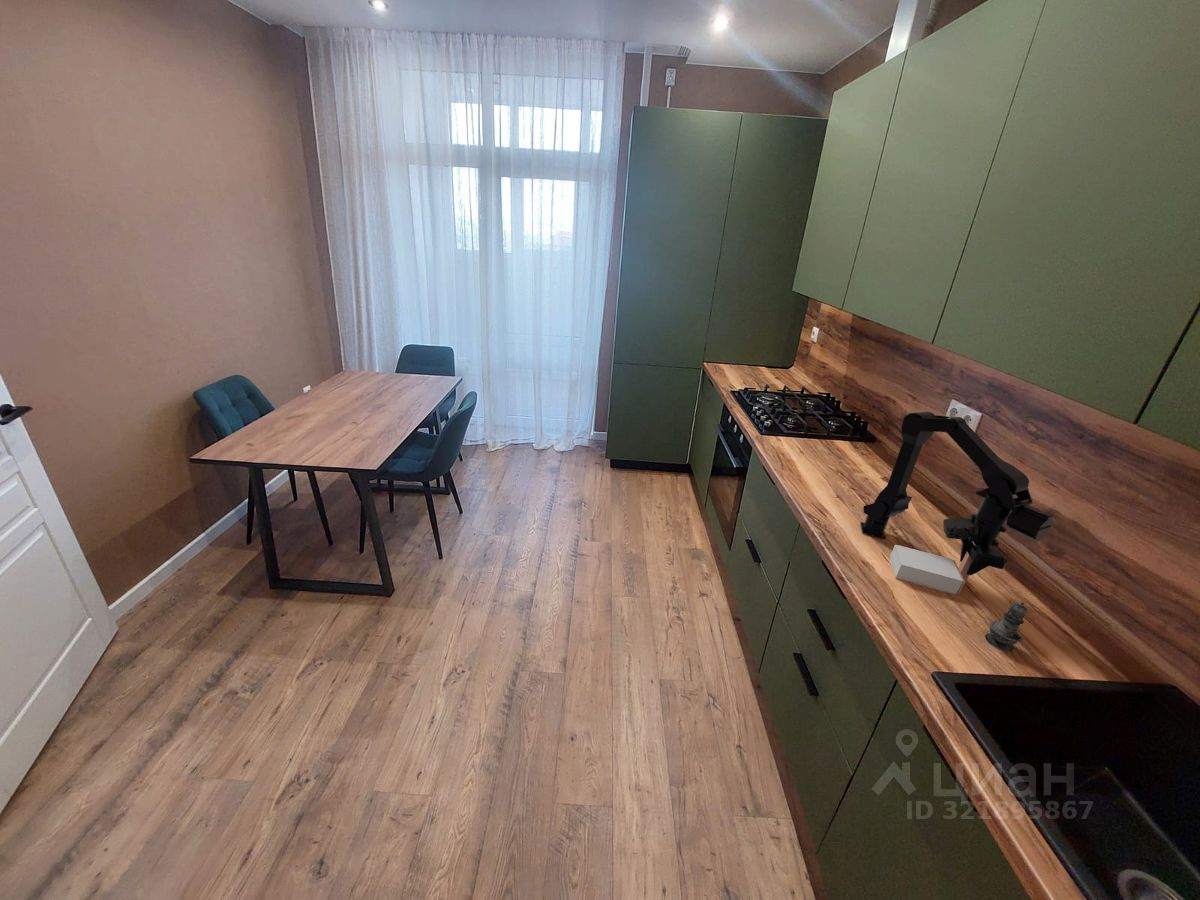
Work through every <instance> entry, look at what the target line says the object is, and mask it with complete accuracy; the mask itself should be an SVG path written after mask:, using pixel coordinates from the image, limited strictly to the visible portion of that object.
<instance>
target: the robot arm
mask: <svg viewBox="0 0 1200 900" xmlns="http://www.w3.org/2000/svg"><path fill="white" fill-rule="evenodd" d="M934 432H935V433H939V432H940V433H946V434H947V435H948V436H949V437H950V438H951V440H952V441H953V442H954V443H956V444H957V446H958V447H959V448H960V449H961V450H962V451H963V452H964V454H966V455H967V458H969V459H970V460H971V462H973V464H974V465H976V467H977V468H978V469H979V471H980V473H981V477H982V481H983V482H984V483H985V485H986V486H987V487H986V488H984V489H981V490H977V491H975V494H976V496H979V497H982V498H984V499H983V500H982V502H981V504H980V507H979V509H978V511H977V512H976V513H972V514H970V516H969V518H966V517H958V518H943V520H942V523H943V525H942V526H943V532H944V534H945V537H946V538H948V539H950V540H952V539H953V540H954V539H955V540H961V548H960V558H959V562H960V563H961V562H962V560H963V558H964V556H965V554H966V552H968V554H969V556H970V557H971V558H970V561H969V565H968V568H967V572H966V574H967V575H969V576H973V575H975V574H977V573H978V572H980V571H982V570H984V569H986V568H988V567H992V568H996V569H1000V570H1004V569H1005V567H1006V566H1007V564H1008V561H1007V560H1006V558H1005V556H1004V555H1003V554H1002V552H1001V551H1000V549H999V550H998V549H994V548H992V547H991V546H993V547H998V546H999V544H1000V543H999V541H998V540H997V539H998V538H999V535H1000V533H1004V534H1005V533H1006V531H1007V529H1006V527H1005V524H1006V526H1008V528H1009V529H1011V530H1013V531H1015V532H1017V533H1018V534H1021V535H1023V536H1025V537H1027V538H1029V539H1032V540H1033V541H1035V542H1040V541H1041V540H1043V539H1044V538H1045V537H1046V536H1047V535H1048V534H1049V532H1050V531H1051V530H1052V528H1053V526H1052V524H1053V517H1054V514H1052V513H1050V512H1047V511H1043V510H1040V509H1038V508H1037V507H1034V506H1031V505H1033V499H1032V497H1031V494H1030V490H1029V485H1030V478H1029V477H1028V476H1027V475H1026V474H1025V473H1024V472H1023V471H1021V470H1020V469H1018V468H1017V467H1016V466H1015V465H1012V464H1011V463H1009V462H1006V461H1004V460H1003V459H1001V457H999V456H998V455H997V453H995V452H994V451H993V450H992V448H990V446H988V445H987V443H986V442H984V440H983V439H982V438H981V437H980V436H979V435H978V434H977V433H976V432H975V431H974V429H972V428H971V427H970V426H969V425H968V423H967V421H966V419H964V418H963V417H961V416H948V415H935V413H933V412H932V411H929V410H928V411H918V412H910V413H907V414H906V415H905V416H904V417H903V419H902V422H901V428H900V434H901V438H902V443H901V445H900V448H899V451H898V454H897V457H896V459H895V462H894V465H893V468H892V471H891V474H890V475H889V479H888V482H887V484H886V486H884V488H883V489H882V490H881V491H880V492H879V493H878V495H877V496H876V498H875V500H874V502H873V503H870V504H866V505H865V504H864V505H863V510H862V511H863V514H865V515H866V518H865V521H864V522H862V521H861V522H860V528H861V532H862V534H865V535H868V536H872V537H876V538H880V539H883V540H886V538H887V537H886V533H885V530H886V527H887V525H888V523H889V520H890V518H891V517H896V516H897V515H899V514H902V513H904V512H905V511H906V510H909V505H910V502H912V501H911V500H912V498H913V497H912V496H911V495H910V496H909V495H908V492H907V487H908V485H909V483H910V480H911V477H912V474H913V473H914V469H915V466H916V464H917V461H918V457H919V456H920V453H921V450H922V448H923V445H924V444H925V443H926V442H927V441H928V440H929V439H930V438H931V437H932V435H933V434H934ZM1014 496H1016V498H1015V497H1014Z"/></svg>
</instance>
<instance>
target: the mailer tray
mask: <svg viewBox="0 0 1200 900" xmlns="http://www.w3.org/2000/svg"><path fill="white" fill-rule="evenodd" d="M970 558H971V557H970V556H969V554H968V552H966V554H965V556H964V558H963V560H962V562H960V564H959V566H958V565H957V563H956V561H955V560H954V559H952V560H953V562H954V564H955V566H956V568H957V570H958V572H959V574H960V576H961V578H962V580H963V582H962V584H961V586H960V588H959V590H958V591H957V593H956V595H960V594H961V592H962V590H963V588H964V586H965V585H966V583H967V580H968V578H969V577H970V575H967V574H966V572H967V568H968V565H969V561H970Z"/></svg>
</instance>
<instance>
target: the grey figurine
mask: <svg viewBox="0 0 1200 900" xmlns="http://www.w3.org/2000/svg"><path fill="white" fill-rule="evenodd" d="M1027 614H1028V609H1027V607H1026V606H1025V603H1024V601H1020V602H1014V603H1012V604H1010V606H1009V608H1008V610H1007V611H1005V612H1003V617H1002V619H1001V621H996V620H995V621H991V622H990V623H989V626H990V627H989V632H990V633H986V634H984V635H985V636H984V638H985V640H986V641H987V643H988V644H989V645H990V646H991V647H993V648H995V649H997V650H999V651H1002V652H1006V653H1011V652H1013V651H1014V645H1015V644H1017V643H1019V642H1021V641H1022V640H1023V635H1022V634H1021V633H1020V632H1019V631H1018V629H1019V628H1020V626H1021V625H1024V623H1025V621H1024V618H1025V616H1026V615H1027Z"/></svg>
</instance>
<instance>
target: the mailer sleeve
mask: <svg viewBox="0 0 1200 900" xmlns="http://www.w3.org/2000/svg"><path fill="white" fill-rule="evenodd" d="M889 560H890V564H891V567H892V570H893V574H894V578H895V579H897V580H900V581H904V582H908V583H912V584H916V585H918V586H923V587H925V588H929V589H930V588H931V589H934V590H937V591H940V592H944V593H948V594H952V595H954V596H956V595H957V591H958V590H959V588H960V586H961V584H962V582H963V580H962V578H961V576H960V574H959V572H958V570H957V568H956V566H955V564H954V562H953V560H954V559H953V558H949V557H945V556H941V555H938V554H933V553H930V552H926V551H922V550H918V549H914V548H911V547H906V546H903V545H900V544H899V545H898V544H894V546H893V548H892V551H891V553H890V556H889Z"/></svg>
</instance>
